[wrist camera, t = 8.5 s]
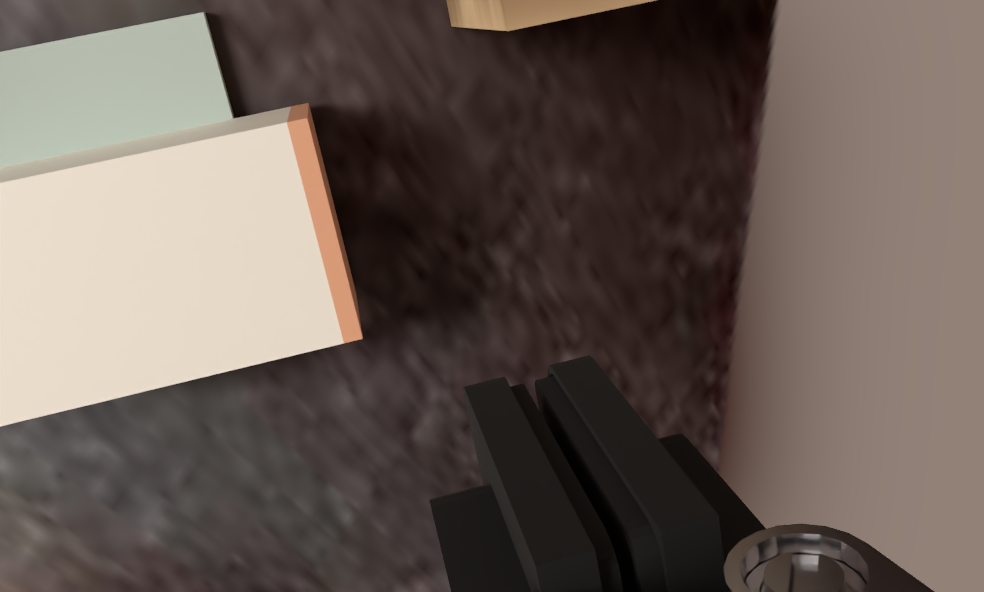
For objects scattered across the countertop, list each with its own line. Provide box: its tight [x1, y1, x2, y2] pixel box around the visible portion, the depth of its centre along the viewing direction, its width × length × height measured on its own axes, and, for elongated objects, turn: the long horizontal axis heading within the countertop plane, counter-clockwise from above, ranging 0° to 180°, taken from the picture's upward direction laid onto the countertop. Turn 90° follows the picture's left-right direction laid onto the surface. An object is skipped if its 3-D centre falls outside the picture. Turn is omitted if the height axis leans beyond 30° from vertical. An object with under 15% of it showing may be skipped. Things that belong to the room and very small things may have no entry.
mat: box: [0, 12, 234, 167], centre depth 31 cm, size 12×16×1 cm
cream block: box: [0, 103, 363, 426], centre depth 29 cm, size 7×5×12 cm
